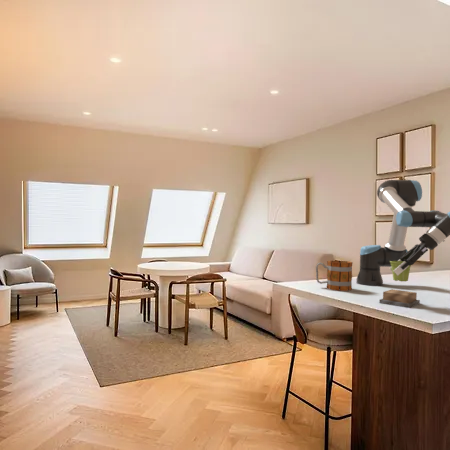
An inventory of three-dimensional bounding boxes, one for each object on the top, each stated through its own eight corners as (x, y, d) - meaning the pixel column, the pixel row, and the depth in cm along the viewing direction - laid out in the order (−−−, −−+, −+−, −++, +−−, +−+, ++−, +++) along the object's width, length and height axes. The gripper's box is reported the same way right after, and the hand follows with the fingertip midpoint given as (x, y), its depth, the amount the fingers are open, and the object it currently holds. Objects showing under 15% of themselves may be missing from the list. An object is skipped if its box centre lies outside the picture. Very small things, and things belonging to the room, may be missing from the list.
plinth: (379, 302, 177) (379, 292, 177) (390, 299, 187) (391, 288, 187) (409, 307, 168) (409, 296, 168) (419, 303, 178) (419, 292, 178)
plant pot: (385, 279, 181) (385, 260, 181) (404, 279, 182) (405, 260, 182) (395, 282, 172) (396, 262, 172) (416, 282, 173) (416, 263, 173)
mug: (351, 287, 218) (351, 261, 218) (352, 291, 205) (353, 263, 205) (315, 285, 223) (316, 259, 223) (314, 289, 210) (315, 261, 210)
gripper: (446, 246, 163) (404, 281, 166) (431, 243, 184) (394, 275, 188) (432, 233, 164) (391, 268, 168) (419, 232, 185) (383, 263, 189)
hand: (393, 272), depth 178 cm, fingers closed on plant pot, 9 cm apart
